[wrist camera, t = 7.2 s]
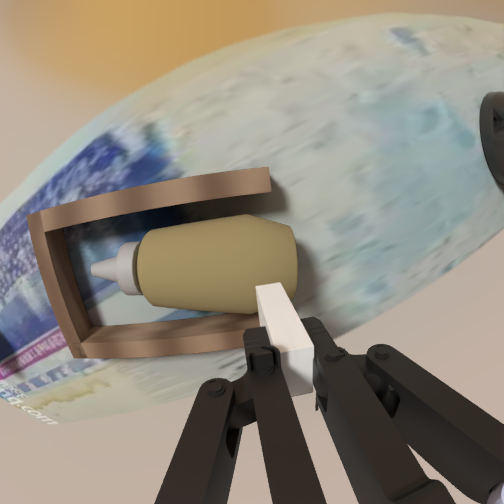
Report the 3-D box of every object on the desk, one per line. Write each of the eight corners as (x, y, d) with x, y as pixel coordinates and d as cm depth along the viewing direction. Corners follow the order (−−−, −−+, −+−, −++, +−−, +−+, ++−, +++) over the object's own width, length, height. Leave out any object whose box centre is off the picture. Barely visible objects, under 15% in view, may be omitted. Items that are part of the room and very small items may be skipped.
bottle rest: (262, 167, 24) (268, 166, 21) (277, 322, 29) (284, 340, 26) (44, 209, 23) (26, 215, 19) (84, 341, 27) (74, 358, 24)
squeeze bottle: (294, 326, 23) (103, 327, 23) (284, 253, 28) (119, 260, 28) (307, 276, 17) (58, 283, 17) (290, 191, 22) (89, 207, 22)
